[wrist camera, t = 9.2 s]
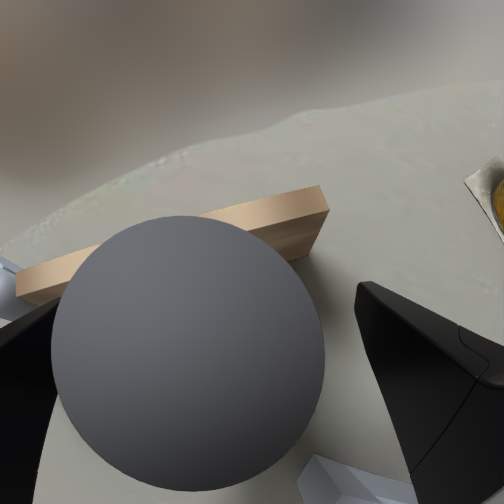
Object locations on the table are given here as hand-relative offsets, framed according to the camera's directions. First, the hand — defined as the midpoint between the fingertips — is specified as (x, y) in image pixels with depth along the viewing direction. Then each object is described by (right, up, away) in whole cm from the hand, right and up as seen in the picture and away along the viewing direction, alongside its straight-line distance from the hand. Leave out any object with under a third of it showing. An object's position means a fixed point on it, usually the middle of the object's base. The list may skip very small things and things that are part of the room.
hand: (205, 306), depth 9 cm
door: (-3, 0, +8) cm, 9 cm away
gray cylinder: (0, -4, +7) cm, 8 cm away
